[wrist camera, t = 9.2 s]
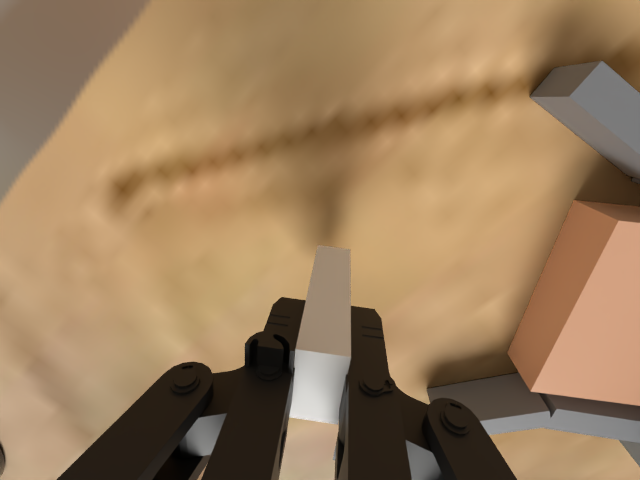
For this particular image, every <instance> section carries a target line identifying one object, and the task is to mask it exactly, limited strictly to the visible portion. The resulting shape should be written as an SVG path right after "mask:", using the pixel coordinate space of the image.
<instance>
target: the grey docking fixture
mask: <svg viewBox="0 0 640 480" xmlns="http://www.w3.org/2000/svg"><path fill="white" fill-rule="evenodd" d="M530 98H531V99H533V100H534V101H535V102H536V103H538V104H539V105H540V106H541V107H543V108H544V109H545V110H546V111H548V112H549V113H550V114H551V115H553V116H554V117H555V118H556V119H558V120H559V121H560V122H561V123H562V124H564V125H565V126H566V127H567V128H569V129H570V130H571V131H572V132H574V133H575V134H576V135H577V136H579V137H580V138H581V139H582V140H584V141H585V142H586V143H587V144H589V145H590V146H591V147H592V148H594V149H595V150H596V151H597V152H599V153H600V154H601V155H602V156H604V157H605V158H606V159H607V160H609V161H610V162H611V163H612V164H614V165H615V166H616V167H617V168H618V169H620V170H621V171H622V172H623V173H625V174H626V175H627V176H631V177H633V178H632V180H631V181H632V182H636V183H639V184H640V93H639V92H638V91H637V90H635V89H634V88H633V87H632V86H631V85H630V84H628V83H627V82H626V81H625V80H624V79H623V78H622V77H620V76H619V75H618V74H617V73H616V72H615V71H614V70H612V69H611V68H610V67H609V66H608V65H607V64H605V63H604V62H603V61H596V62H590V63H583V64H576V65H569V66H563V67H556V68H554V69H553V70H552V71H551V72H550V74H549V75H548V76H547V77H546V78H545V79H544V81H543V82H542V83H541V84H540V85H539V86H538V88H537V89H536V90H535V91H534V92H533V93H532V94H531V96H530ZM427 392H428V396H429V400H430V403H431V402H432V401H433V400H434V399H438V398H450V399H453V400H455V401H458V402H460V403H462V404H463V405H465V406H466V407H467V408H469V409H470V410H471V411H472V412H473V413H474V414H475V416H476V417H477V418H478V419H479V421H480V422H481V424H482V426H483V427H484V429H485V430H486V432H487V433H488V435H493V434H500V433H508V432H515V431H522V430H529V429H537V428H546V429H552V430H559V431H565V432H572V433H578V434H584V435H591V436H597V437H604V438H610V439H617V440H619V441H620V442H621V443H622V445H623V446H624V447H625V449H626V450H627V451H628V452H629V454H630V455H631V456H632V458H633V459H634V460H635V461H636V463H637V464H638V465H639V467H640V406H638V405H630V404H622V403H615V402H607V401H599V400H592V399H584V398H576V397H569V396H561V395H553V394H546V393H538V392H531V391H530V390H529V388H528V386H527V385H526V383H525V382H524V380H523V378H522V377H521V375H520V373H513V374H508V375H502V376H496V377H491V378H485V379H479V380H474V381H468V382H462V383H457V384H451V385H445V386H440V387H434V388H428V389H427Z"/></svg>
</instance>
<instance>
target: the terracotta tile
mask: <svg viewBox="0 0 640 480" xmlns="http://www.w3.org/2000/svg"><path fill="white" fill-rule="evenodd" d="M507 354H508V355H509V357H510V358H511V360H512V362H513V363H514V365H515V367H516V368H517V370H518V372H519V373H520V375H521V377H522V378H523V380H524V382H525V383H526V385H527V386H528V388H529V390H530V391H531V392H538V393H546V394H553V395H561V396H569V397H576V398H584V399H592V400H599V401H607V402H615V403H622V404H630V405H638V406H640V207H639V206H629V205H619V204H609V203H599V202H589V201H579V200H574V201H573V203H572V205H571V208H570V210H569V212H568V214H567V217H566V219H565V221H564V224H563V226H562V228H561V230H560V233H559V235H558V237H557V240H556V242H555V244H554V247H553V249H552V251H551V253H550V256H549V258H548V260H547V263H546V265H545V267H544V269H543V272H542V274H541V276H540V279H539V281H538V283H537V286H536V288H535V290H534V292H533V295H532V297H531V299H530V302H529V304H528V306H527V308H526V311H525V313H524V315H523V318H522V320H521V322H520V325H519V327H518V329H517V331H516V334H515V336H514V338H513V341H512V343H511V345H510V347H509V350H508V352H507Z"/></svg>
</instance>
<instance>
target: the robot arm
mask: <svg viewBox="0 0 640 480" xmlns="http://www.w3.org/2000/svg"><path fill="white" fill-rule="evenodd" d="M289 417H292V418H298V419H305V420H311V421H318V422H325V423H331V424H338V421H339V432H338V437H337V442H336V447H335V452H334V457H333V460H335V480H517V479H516V477H515V476H514V474H513V472H512V471H511V469H510V468H509V466H508V465H507V463H506V462H505V460H504V458H503V457H502V455H501V454H500V452H499V451H498V449H497V447H496V446H495V444H494V443H493V441H492V440H491V438H490V436H489V435H488V433H487V432H486V430H485V429H484V427H483V426H482V424H481V422H480V421H479V419H478V418H477V417H476V416H475V414H474V413H473V412H472V411H471V410H470V409H469V408H467V407H466V406H465V405H463V404H462V403H460V402H458V401H455V400H453V399H450V398H438V399H434V400H433V401H432V402H431V403H430V404H429V405H428V404H425V403H423V402H421V401H418V400H416V399H414V398H412V397H410V396H408V395H406V394H405V393H403V392H402V391H401V390H400V389H398V387H397V386H396V384H395V382H394V380H393V379H392V378H391V377H390V374H389V369H388V362H387V356H386V349H385V342H384V335H383V328H382V321H381V318H380V316H379V315H378V314H377V312H376V311H375V309H370V308H362V307H355V306H351V269H350V249H344V248H337V247H330V246H322V245H318V247H317V251H316V256H315V261H314V265H313V270H312V275H311V279H310V284H309V288H308V293H307V298H306V300H299V299H291V298H284V297H281V298H280V299H279V300H278V301H277V302H276V303H274V304H273V306H272V309H271V312H270V315H269V317H268V320H267V324H266V325H265V328H264V331H262V332H258V333H256V334H254V335H253V336H251V337H250V338H249V339H248V340H247V342H246V343H245V365H244V366H243V367H241V368H239V369H236V370H233V371H228V372H221V373H213V374H212V372H211V370H210V368H209V367H207V366H206V365H204V364H203V363H198V362H187V363H182V364H179V365H177V366H174V367H172V368H171V369H170V370H168V371H167V372H166V373H164V374H163V375H162V376H161V377H160V378H159V379H158V380H157V381H156V382H155V383H154V384H153V385H152V386H151V387H150V388H149V389H148V390H147V391H146V392H145V393H144V394H143V395H142V396H141V397H140V398H139V399H138V400H137V401H136V402H135V403H134V404H133V405H132V406H131V407H130V408H129V409H128V410H127V411H126V412H125V413H124V414H123V415H122V416H121V417H120V418H119V419H118V420H117V421H116V422H115V423H114V424H113V425H112V426H111V427H110V428H109V429H107V430H106V431H105V432H104V433H103V434H102V435H101V436H100V437H99V438H98V439H97V440H96V441H95V442H94V443H93V444H92V445H91V446H90V447H89V448H88V449H87V450H86V451H85V452H84V453H83V454H82V455H81V456H80V457H79V458H78V459H77V460H76V461H75V462H74V463H73V464H72V465H71V466H70V467H69V468H68V469H67V470H66V471H65V472H64V473H63V474H62V475H61V476H60V477H59V478H58V479H57V480H197V478H198V477H199V475H200V474H201V472H202V471H203V469H204V467H205V466H206V464H207V463H208V464H207V466H206V469H205V471H204V474H203V477H202V479H201V480H279V474H280V469H281V463H282V458H283V453H284V447H285V442H286V436H287V426H288V420H289ZM4 466H5V463H4V457H3V454H2V451H1V449H0V476H1V475H2V473H3V471H4Z"/></svg>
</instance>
